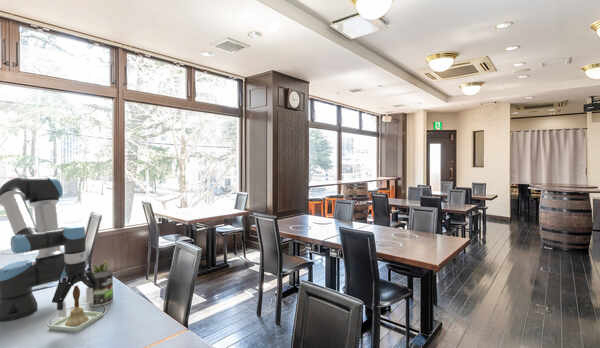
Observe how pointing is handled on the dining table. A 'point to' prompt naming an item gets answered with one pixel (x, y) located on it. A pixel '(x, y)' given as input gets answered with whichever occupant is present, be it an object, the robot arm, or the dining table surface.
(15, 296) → the robot arm
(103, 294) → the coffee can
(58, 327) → the tray
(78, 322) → the hand bell
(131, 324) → the dining table surface
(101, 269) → the house plant
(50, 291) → the dining table surface
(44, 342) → the dining table surface
